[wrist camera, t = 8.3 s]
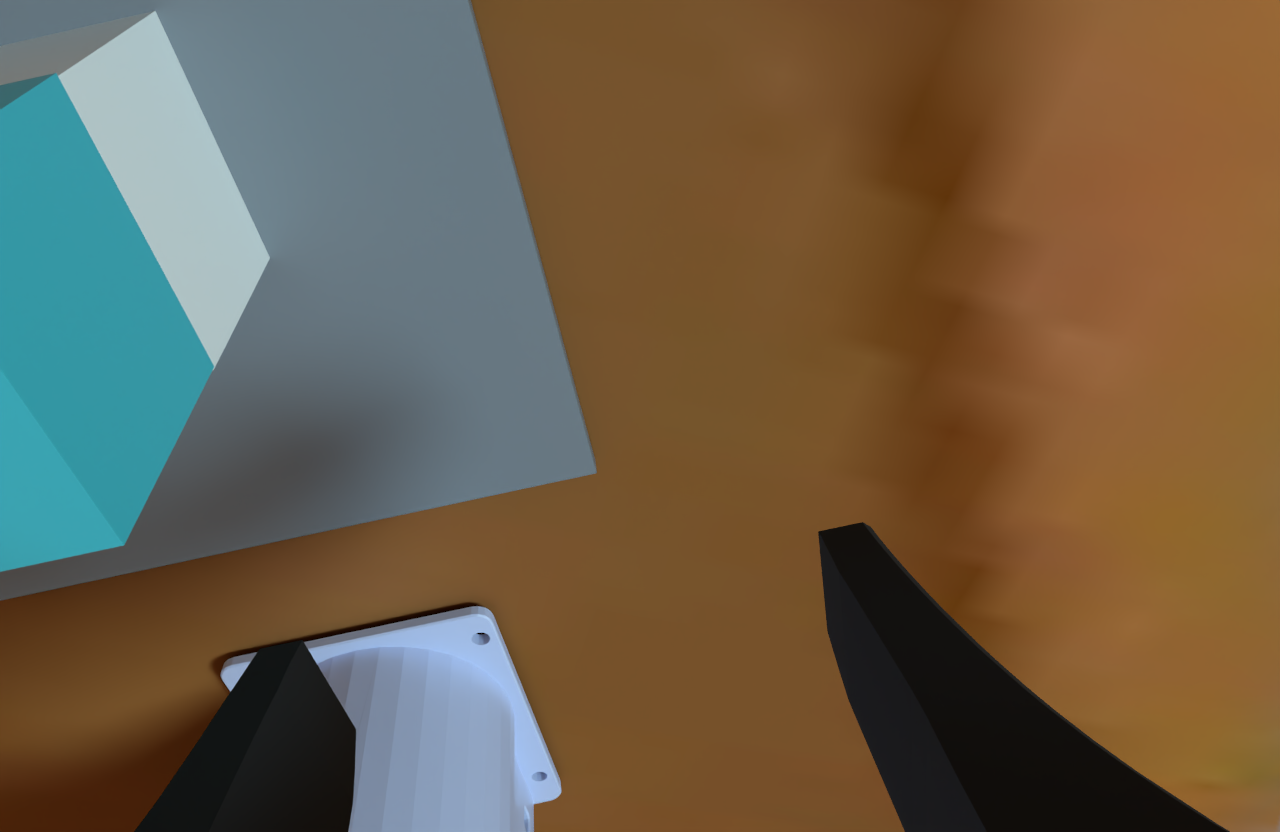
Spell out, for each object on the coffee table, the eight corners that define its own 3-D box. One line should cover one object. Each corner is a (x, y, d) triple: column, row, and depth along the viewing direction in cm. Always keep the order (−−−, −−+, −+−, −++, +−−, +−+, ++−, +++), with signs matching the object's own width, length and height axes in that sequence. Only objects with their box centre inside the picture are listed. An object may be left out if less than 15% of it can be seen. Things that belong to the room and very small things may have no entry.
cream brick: (269, 257, 20) (213, 370, 16) (41, 308, 20) (-66, 431, 16) (155, 10, 17) (54, 78, 13) (-112, 71, 17) (-287, 156, 13)
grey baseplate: (595, 461, 24) (596, 472, 24) (6, 587, 25) (-3, 601, 24) (391, -295, 15) (387, -297, 15) (-554, -80, 15) (-583, -75, 15)
